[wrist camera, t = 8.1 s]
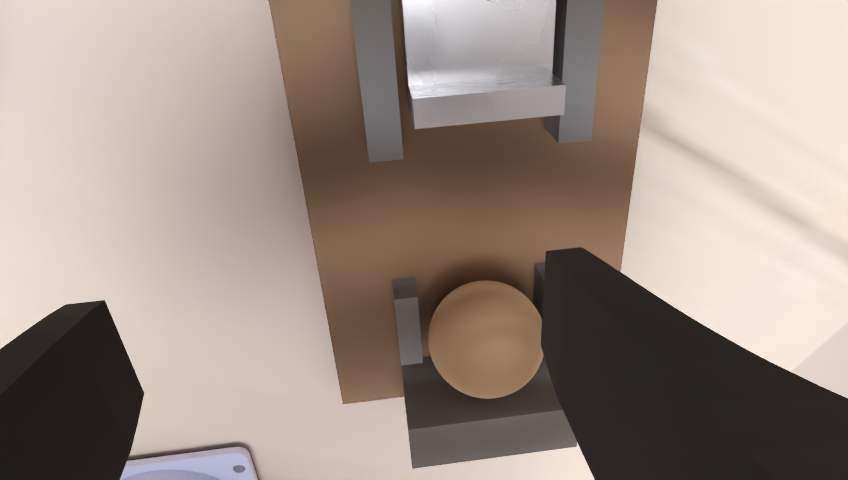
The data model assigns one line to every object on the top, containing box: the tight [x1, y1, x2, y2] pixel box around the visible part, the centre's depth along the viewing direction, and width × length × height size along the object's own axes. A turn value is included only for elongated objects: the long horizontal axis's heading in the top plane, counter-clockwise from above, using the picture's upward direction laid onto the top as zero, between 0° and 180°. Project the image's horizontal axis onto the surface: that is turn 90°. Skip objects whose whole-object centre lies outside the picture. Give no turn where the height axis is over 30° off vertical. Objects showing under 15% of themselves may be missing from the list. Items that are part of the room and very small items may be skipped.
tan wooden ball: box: [428, 280, 544, 399], centre depth 20 cm, size 4×4×4 cm
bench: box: [269, 0, 657, 468], centre depth 18 cm, size 20×11×4 cm, turn 4°
